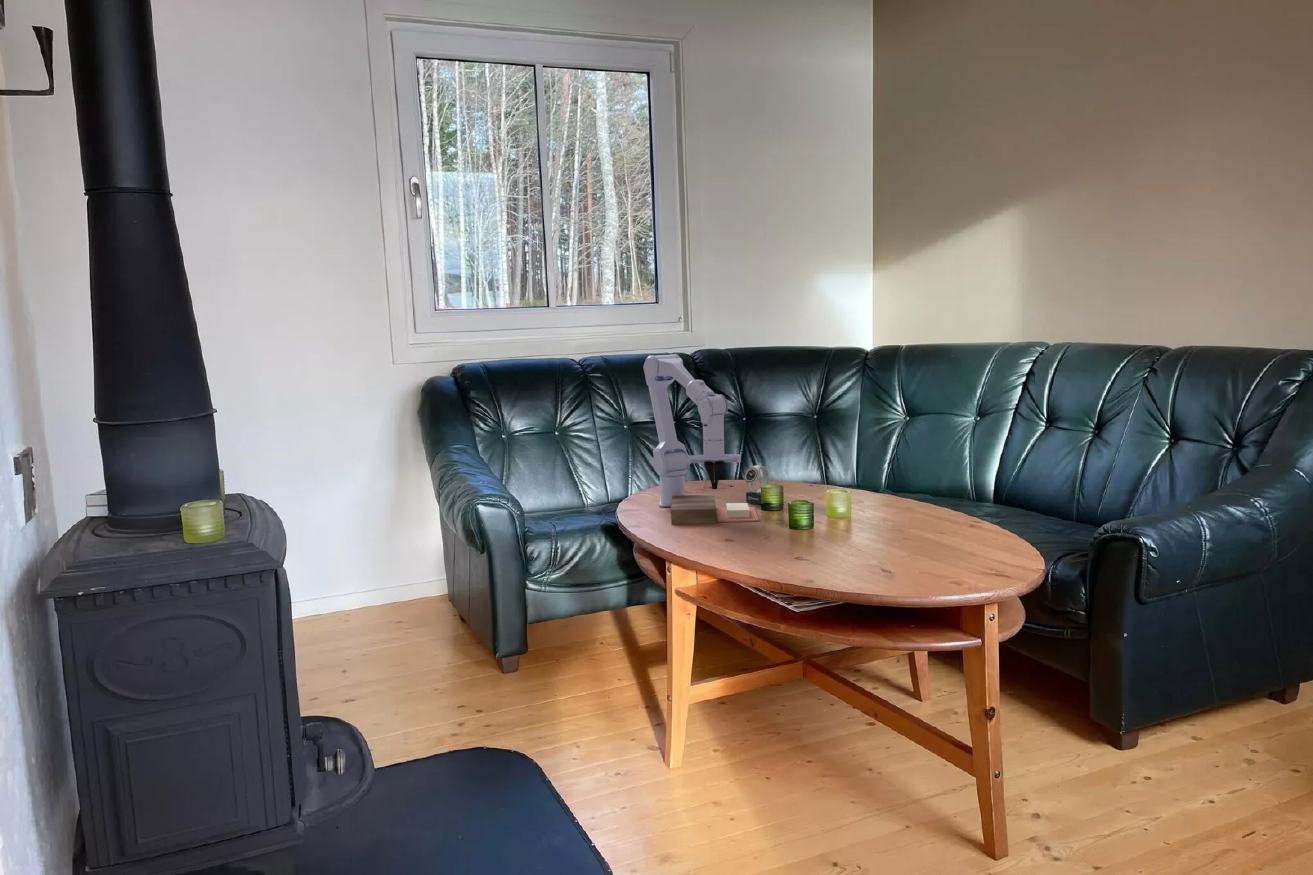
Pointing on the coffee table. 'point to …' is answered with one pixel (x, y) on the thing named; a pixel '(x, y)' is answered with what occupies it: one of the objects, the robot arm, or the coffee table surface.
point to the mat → (722, 517)
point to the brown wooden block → (693, 509)
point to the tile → (737, 510)
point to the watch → (751, 479)
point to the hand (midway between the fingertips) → (714, 488)
